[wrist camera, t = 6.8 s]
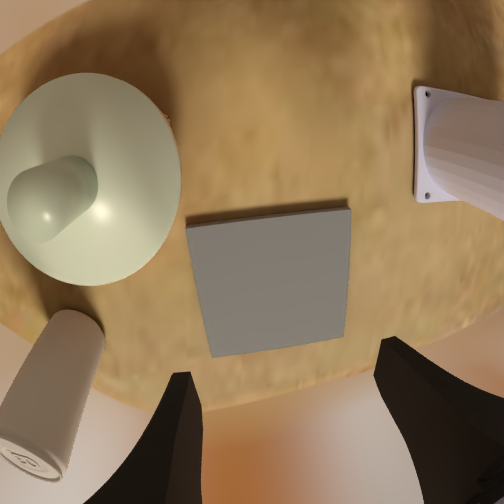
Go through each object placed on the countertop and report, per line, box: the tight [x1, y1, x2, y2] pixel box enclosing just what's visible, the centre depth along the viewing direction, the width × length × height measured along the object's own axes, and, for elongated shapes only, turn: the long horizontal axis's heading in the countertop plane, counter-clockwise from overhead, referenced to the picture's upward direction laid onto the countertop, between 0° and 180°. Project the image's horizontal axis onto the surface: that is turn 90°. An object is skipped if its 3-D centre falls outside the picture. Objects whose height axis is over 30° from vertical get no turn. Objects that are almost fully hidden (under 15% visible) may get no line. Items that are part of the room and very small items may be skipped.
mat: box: [185, 207, 351, 358], centre depth 20 cm, size 10×10×1 cm
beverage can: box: [0, 309, 105, 483], centre depth 15 cm, size 5×5×12 cm
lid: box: [0, 73, 182, 286], centre depth 11 cm, size 10×10×4 cm
